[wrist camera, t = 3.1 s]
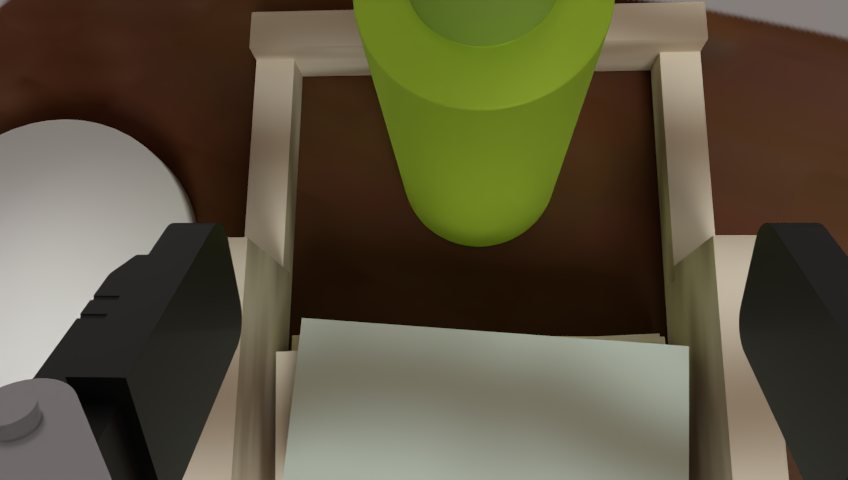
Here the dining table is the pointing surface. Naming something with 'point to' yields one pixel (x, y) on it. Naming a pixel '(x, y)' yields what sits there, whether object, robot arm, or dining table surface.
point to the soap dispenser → (481, 103)
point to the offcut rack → (481, 350)
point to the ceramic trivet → (71, 227)
